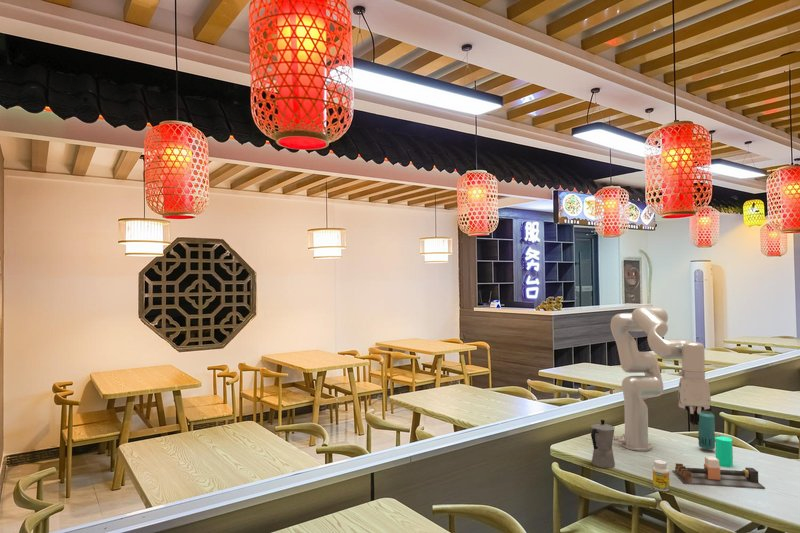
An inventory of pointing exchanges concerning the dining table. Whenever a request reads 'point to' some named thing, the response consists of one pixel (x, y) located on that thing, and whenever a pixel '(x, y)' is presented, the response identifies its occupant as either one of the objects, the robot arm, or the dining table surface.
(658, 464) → the supplement bottle
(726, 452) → the candle
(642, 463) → the dining table surface
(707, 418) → the beverage bottle
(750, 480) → the linear slide rail
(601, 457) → the coffeepot
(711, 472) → the orange block
